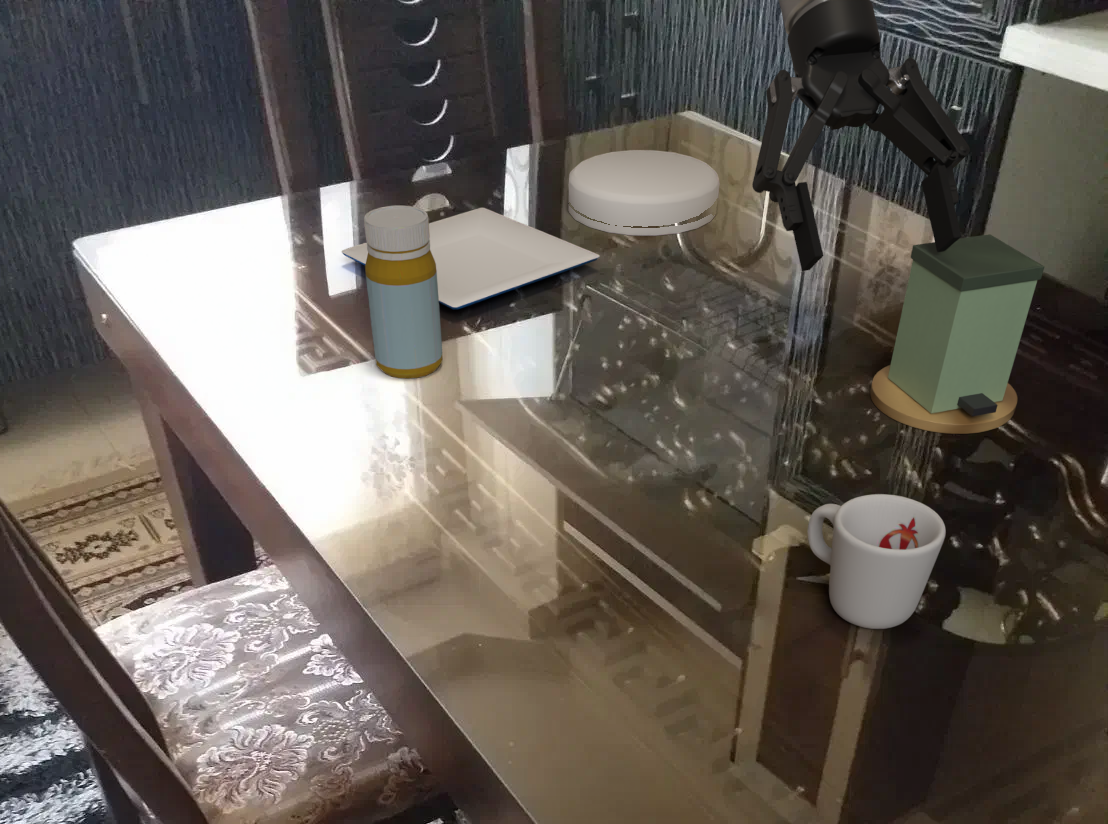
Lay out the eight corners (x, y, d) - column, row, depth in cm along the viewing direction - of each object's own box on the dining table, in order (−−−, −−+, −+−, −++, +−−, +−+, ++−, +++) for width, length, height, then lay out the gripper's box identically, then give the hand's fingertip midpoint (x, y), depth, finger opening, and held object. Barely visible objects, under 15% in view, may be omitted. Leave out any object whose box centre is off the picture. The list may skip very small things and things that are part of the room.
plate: (341, 266, 140) (339, 249, 138) (483, 222, 151) (482, 205, 149) (455, 324, 128) (454, 305, 126) (601, 271, 138) (601, 253, 137)
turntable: (978, 363, 120) (981, 354, 119) (1039, 427, 110) (1042, 418, 109) (850, 373, 119) (852, 363, 118) (900, 439, 109) (902, 429, 108)
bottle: (454, 358, 122) (445, 209, 111) (422, 385, 117) (409, 233, 107) (397, 346, 124) (383, 199, 113) (363, 373, 119) (345, 223, 109)
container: (644, 248, 144) (646, 209, 141) (537, 207, 154) (536, 170, 151) (748, 209, 153) (752, 172, 150) (640, 174, 164) (642, 138, 161)
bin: (884, 377, 116) (912, 244, 107) (956, 365, 117) (990, 233, 108) (944, 426, 108) (979, 288, 99) (1020, 412, 110) (1061, 276, 101)
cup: (769, 590, 91) (783, 502, 86) (834, 553, 95) (851, 467, 89) (878, 655, 85) (900, 565, 80) (943, 613, 89) (969, 524, 83)
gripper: (929, 35, 107) (979, 256, 107) (683, 58, 102) (736, 290, 102) (976, -21, 100) (1029, 216, 100) (713, 0, 95) (770, 251, 95)
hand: (882, 254), depth 101 cm, fingers open, 13 cm apart
